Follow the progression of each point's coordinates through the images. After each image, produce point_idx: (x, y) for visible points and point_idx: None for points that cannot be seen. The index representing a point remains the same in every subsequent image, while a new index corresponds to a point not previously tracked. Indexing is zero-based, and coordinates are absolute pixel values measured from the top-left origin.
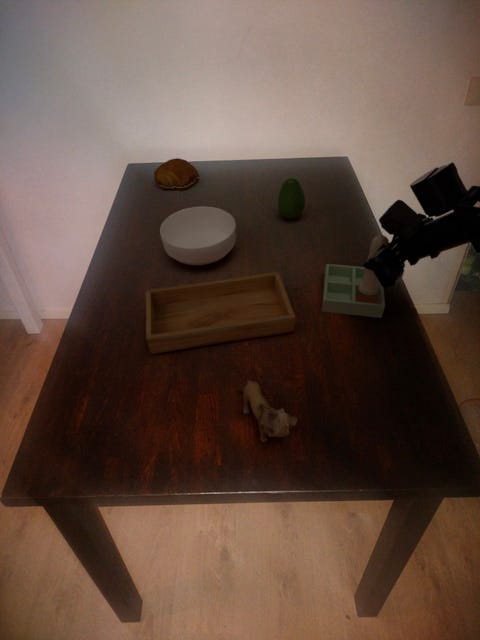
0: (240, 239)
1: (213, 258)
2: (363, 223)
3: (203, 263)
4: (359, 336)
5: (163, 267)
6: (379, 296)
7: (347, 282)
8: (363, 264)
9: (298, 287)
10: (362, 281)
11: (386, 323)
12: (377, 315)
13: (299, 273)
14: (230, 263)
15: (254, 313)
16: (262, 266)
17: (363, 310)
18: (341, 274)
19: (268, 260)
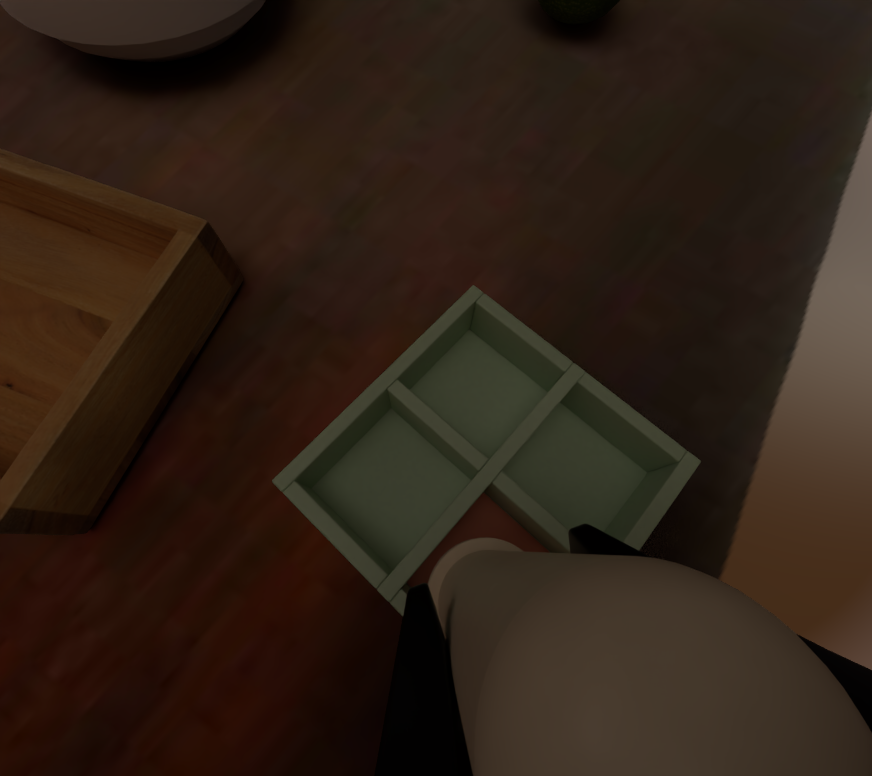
0: (331, 24)
1: (85, 34)
2: (814, 166)
3: (74, 45)
4: (316, 740)
5: None
6: None
7: (467, 445)
8: (407, 595)
9: (322, 320)
10: (447, 576)
11: None
12: None
13: (384, 260)
14: (211, 96)
15: (31, 354)
16: (293, 161)
17: None
18: (516, 362)
19: (336, 148)
